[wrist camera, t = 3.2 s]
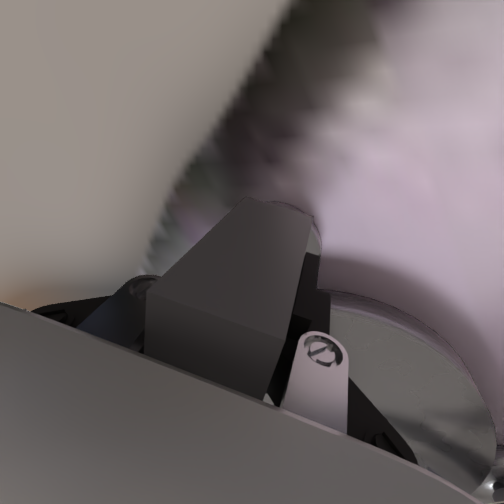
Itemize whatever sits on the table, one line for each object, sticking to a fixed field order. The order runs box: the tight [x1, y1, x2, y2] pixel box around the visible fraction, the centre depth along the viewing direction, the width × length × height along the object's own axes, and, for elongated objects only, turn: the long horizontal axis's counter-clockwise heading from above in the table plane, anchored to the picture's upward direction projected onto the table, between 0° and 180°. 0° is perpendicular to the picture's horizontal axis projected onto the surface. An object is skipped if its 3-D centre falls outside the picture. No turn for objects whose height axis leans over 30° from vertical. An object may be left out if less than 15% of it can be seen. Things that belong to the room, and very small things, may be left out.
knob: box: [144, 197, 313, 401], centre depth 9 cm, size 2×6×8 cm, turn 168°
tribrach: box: [263, 202, 504, 504], centre depth 14 cm, size 21×23×7 cm
